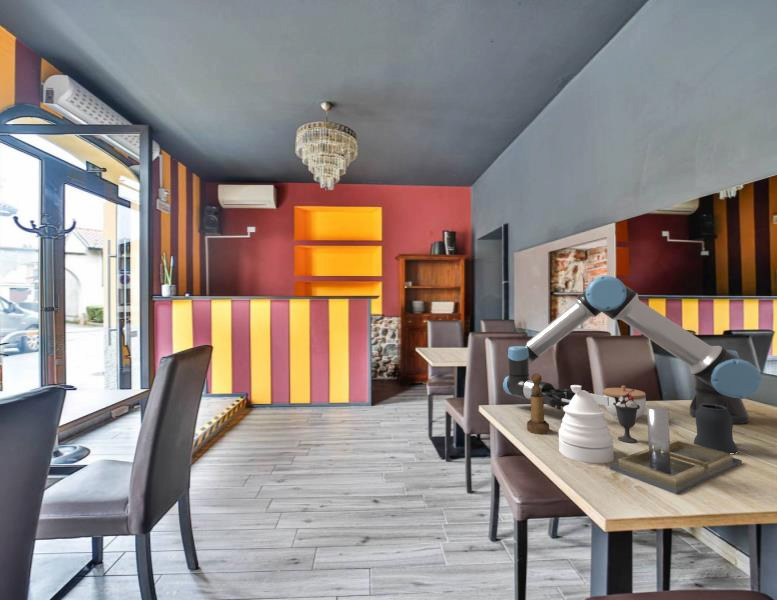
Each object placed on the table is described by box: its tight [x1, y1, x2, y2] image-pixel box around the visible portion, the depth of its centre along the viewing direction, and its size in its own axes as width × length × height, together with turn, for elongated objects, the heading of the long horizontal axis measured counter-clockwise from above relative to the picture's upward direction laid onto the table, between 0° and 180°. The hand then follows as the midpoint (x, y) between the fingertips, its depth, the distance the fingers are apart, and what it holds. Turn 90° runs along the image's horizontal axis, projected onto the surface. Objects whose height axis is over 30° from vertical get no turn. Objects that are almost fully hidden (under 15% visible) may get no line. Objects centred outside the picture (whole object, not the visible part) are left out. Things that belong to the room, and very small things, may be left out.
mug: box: [692, 404, 739, 453], centre depth 101 cm, size 12×9×11 cm
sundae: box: [613, 388, 640, 444], centre depth 107 cm, size 7×7×15 cm
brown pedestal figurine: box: [526, 373, 550, 435], centre depth 118 cm, size 7×6×18 cm
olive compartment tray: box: [609, 406, 743, 495], centre depth 90 cm, size 30×14×15 cm, turn 117°
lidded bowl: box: [602, 385, 647, 420], centre depth 129 cm, size 13×13×11 cm
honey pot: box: [558, 384, 615, 464], centre depth 99 cm, size 13×13×18 cm
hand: (595, 404), depth 116 cm, fingers open, 13 cm apart
